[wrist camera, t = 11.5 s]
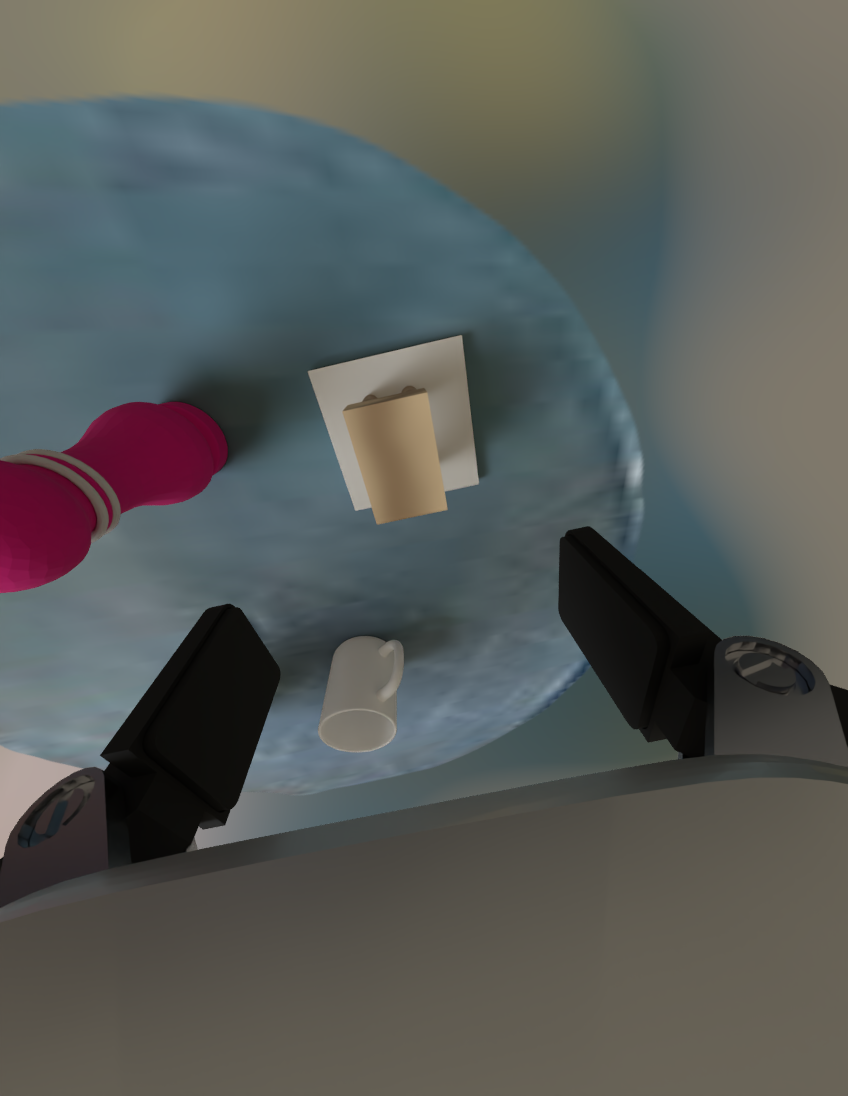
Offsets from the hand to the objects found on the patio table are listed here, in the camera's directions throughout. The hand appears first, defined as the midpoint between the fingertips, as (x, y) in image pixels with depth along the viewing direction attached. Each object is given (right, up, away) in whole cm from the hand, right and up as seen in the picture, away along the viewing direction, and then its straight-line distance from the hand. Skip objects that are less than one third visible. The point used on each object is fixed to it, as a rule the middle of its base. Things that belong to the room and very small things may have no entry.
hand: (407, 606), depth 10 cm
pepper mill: (-20, +11, +19) cm, 29 cm away
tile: (-1, +12, +19) cm, 23 cm away
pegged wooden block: (-2, +11, +18) cm, 22 cm away
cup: (-6, -11, +34) cm, 36 cm away
